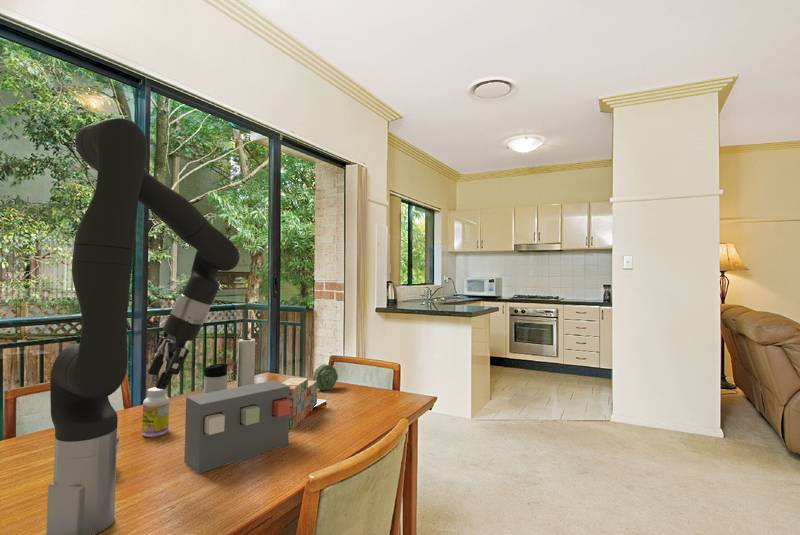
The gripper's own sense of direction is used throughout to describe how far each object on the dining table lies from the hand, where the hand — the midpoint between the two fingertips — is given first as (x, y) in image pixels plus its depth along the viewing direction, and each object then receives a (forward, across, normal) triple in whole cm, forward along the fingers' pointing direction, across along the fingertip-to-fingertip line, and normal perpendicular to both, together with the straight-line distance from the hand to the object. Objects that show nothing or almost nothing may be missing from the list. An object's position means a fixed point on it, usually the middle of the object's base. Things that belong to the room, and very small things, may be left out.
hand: (156, 381), depth 99 cm
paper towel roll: (+14, -44, +48) cm, 67 cm away
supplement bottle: (+22, -23, +15) cm, 35 cm away
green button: (+3, +8, +23) cm, 24 cm away
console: (+13, +4, +26) cm, 29 cm away
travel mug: (+16, -14, +27) cm, 34 cm away
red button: (0, +7, +31) cm, 32 cm away
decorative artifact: (+2, -32, +74) cm, 81 cm away
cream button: (+6, +9, +14) cm, 18 cm away
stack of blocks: (+7, -12, +50) cm, 52 cm away
